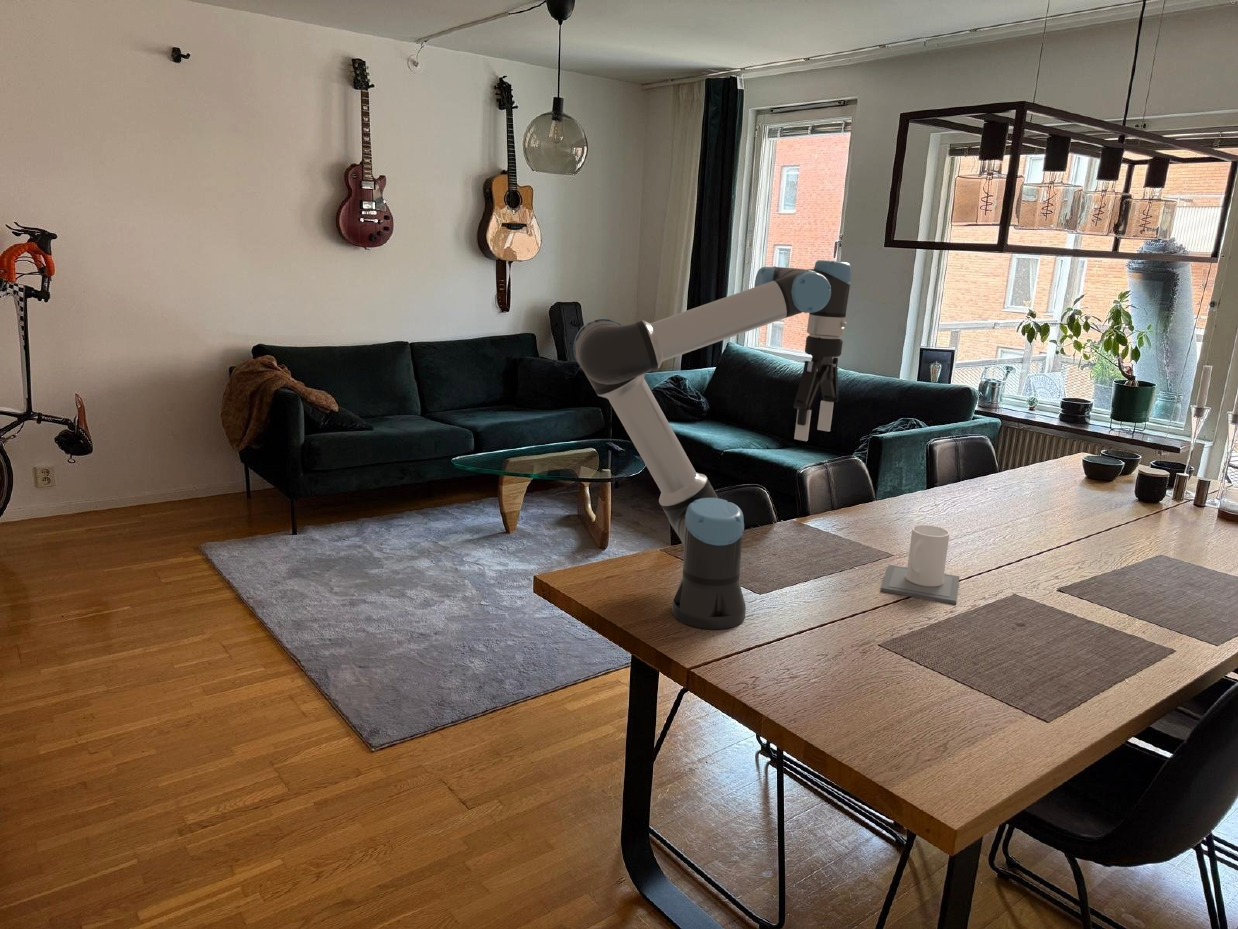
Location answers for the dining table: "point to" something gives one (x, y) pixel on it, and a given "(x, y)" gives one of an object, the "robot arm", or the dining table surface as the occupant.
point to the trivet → (919, 586)
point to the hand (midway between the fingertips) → (812, 435)
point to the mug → (927, 555)
